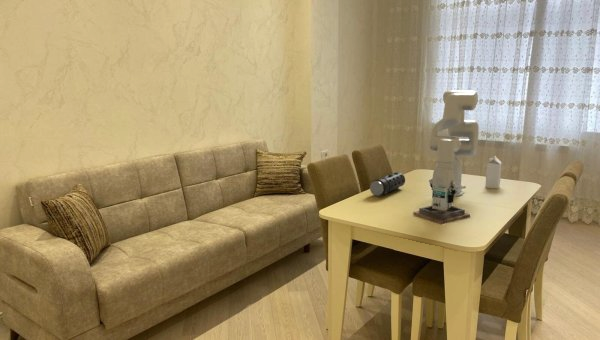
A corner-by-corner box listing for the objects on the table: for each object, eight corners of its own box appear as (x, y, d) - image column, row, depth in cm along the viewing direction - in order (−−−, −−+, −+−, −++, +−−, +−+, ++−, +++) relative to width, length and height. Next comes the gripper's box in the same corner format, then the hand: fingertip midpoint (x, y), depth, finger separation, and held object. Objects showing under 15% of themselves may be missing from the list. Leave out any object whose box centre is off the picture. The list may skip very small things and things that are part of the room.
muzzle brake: (405, 189, 261) (406, 172, 259) (383, 199, 240) (384, 181, 237) (390, 187, 267) (391, 170, 265) (368, 197, 245) (368, 179, 243)
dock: (441, 208, 222) (442, 201, 222) (470, 217, 208) (470, 210, 207) (413, 214, 212) (413, 208, 212) (441, 224, 198) (441, 217, 197)
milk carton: (499, 186, 266) (502, 155, 263) (497, 189, 261) (500, 157, 257) (487, 185, 270) (489, 154, 266) (485, 187, 264) (487, 156, 260)
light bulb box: (445, 211, 203) (447, 188, 201) (431, 208, 207) (432, 186, 205) (452, 205, 212) (453, 183, 210) (438, 203, 216) (439, 182, 213)
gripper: (425, 162, 210) (423, 197, 214) (454, 169, 196) (451, 206, 199) (435, 161, 214) (433, 195, 218) (465, 167, 200) (462, 203, 203)
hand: (442, 200), depth 209 cm, fingers closed on light bulb box, 8 cm apart
